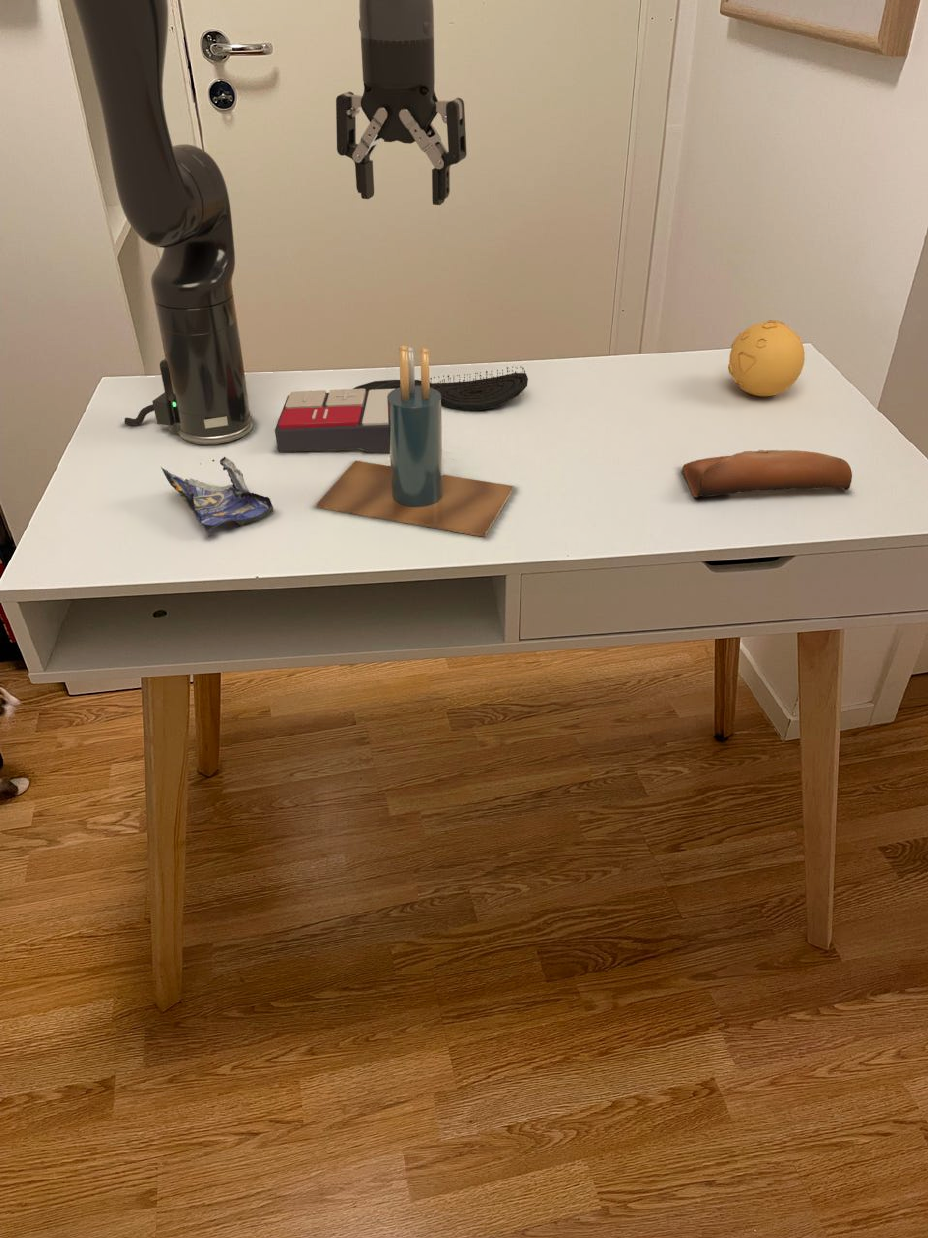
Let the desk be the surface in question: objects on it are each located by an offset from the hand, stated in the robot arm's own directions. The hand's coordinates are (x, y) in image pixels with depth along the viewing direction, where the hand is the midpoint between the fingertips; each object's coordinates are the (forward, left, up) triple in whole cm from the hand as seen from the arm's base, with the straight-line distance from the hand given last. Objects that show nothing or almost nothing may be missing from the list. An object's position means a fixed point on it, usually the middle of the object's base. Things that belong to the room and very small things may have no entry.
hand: (402, 200), depth 108 cm
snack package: (-13, -26, -28) cm, 41 cm away
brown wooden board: (+7, -17, -28) cm, 33 cm away
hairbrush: (0, +10, -28) cm, 30 cm away
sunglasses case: (+44, 0, -28) cm, 53 cm away
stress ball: (+42, +26, -28) cm, 57 cm away
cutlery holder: (+7, -17, -28) cm, 33 cm away
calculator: (-8, -4, -28) cm, 30 cm away
